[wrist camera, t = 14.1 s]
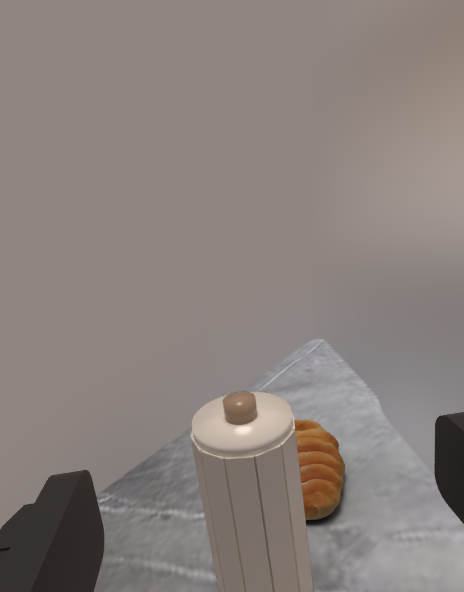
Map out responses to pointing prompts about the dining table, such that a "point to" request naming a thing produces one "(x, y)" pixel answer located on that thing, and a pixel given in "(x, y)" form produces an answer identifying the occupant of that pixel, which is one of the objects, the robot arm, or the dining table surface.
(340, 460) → the pastry
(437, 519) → the dining table surface
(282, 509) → the ribbed lidded canister
